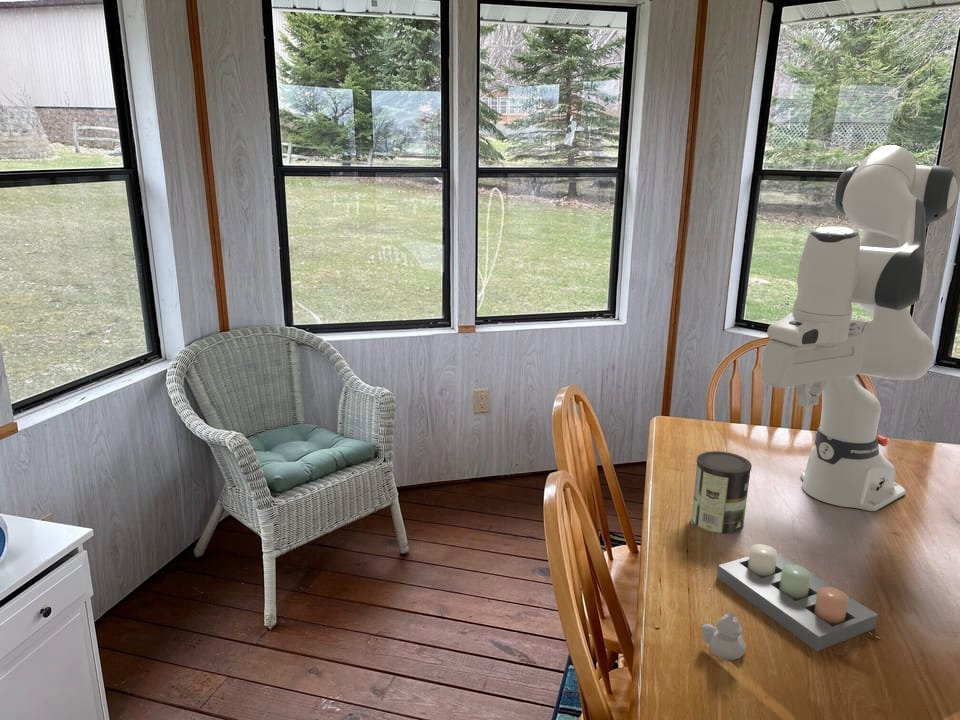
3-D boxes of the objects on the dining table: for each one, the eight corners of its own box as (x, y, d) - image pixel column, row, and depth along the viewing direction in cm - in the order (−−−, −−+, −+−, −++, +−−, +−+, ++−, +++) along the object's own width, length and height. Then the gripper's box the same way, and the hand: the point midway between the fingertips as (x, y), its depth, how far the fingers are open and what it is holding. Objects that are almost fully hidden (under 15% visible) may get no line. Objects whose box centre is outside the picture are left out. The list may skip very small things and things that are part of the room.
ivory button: (759, 566, 129) (763, 542, 127) (779, 579, 125) (783, 554, 124) (741, 572, 127) (744, 547, 125) (760, 585, 123) (764, 560, 122)
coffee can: (739, 515, 150) (747, 453, 146) (747, 541, 140) (755, 475, 136) (688, 510, 152) (694, 448, 148) (692, 535, 142) (699, 469, 138)
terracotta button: (826, 611, 117) (830, 584, 115) (849, 627, 113) (855, 599, 111) (806, 618, 115) (811, 590, 113) (830, 634, 111) (835, 606, 110)
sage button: (791, 587, 123) (795, 562, 121) (812, 602, 119) (817, 575, 117) (772, 594, 121) (776, 568, 119) (793, 608, 117) (797, 582, 116)
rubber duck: (737, 673, 105) (743, 626, 103) (693, 653, 109) (698, 608, 107) (749, 653, 109) (755, 607, 107) (706, 635, 113) (712, 591, 111)
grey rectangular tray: (770, 565, 132) (773, 548, 131) (874, 633, 114) (877, 614, 113) (716, 582, 127) (718, 565, 126) (815, 656, 109) (819, 637, 108)
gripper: (846, 317, 127) (834, 391, 131) (760, 327, 118) (749, 407, 122) (878, 325, 121) (865, 402, 125) (791, 337, 113) (779, 419, 117)
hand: (807, 405), depth 124 cm, fingers closed
